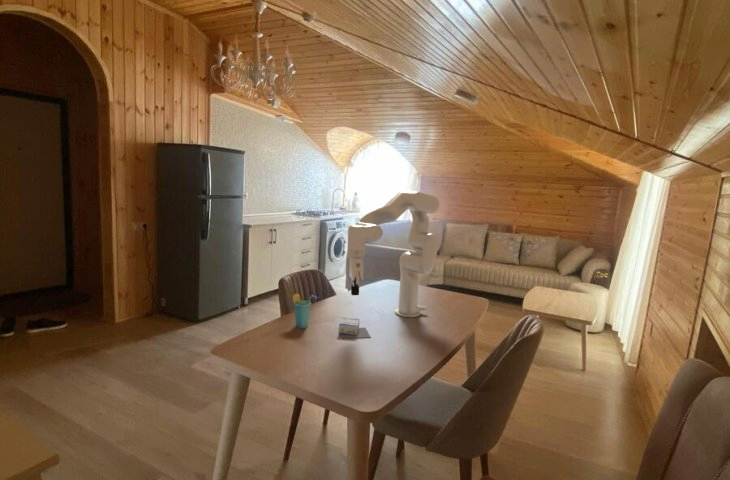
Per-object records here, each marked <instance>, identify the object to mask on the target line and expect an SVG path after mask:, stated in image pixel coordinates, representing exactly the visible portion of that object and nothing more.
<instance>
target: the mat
mask: <svg viewBox="0 0 730 480" xmlns="http://www.w3.org/2000/svg"><path fill="white" fill-rule="evenodd" d="M340 336H341V339H343V340H347V339H348V340H349V339H371V338H372V337H371V335H370V333H369V332H368V330H367V328H366V327H359V330H358V333H357V335H350V334H340Z"/></svg>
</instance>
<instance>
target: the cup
mask: <svg viewBox="0 0 730 480" xmlns="http://www.w3.org/2000/svg"><path fill="white" fill-rule="evenodd" d="M312 298H314V299H316V300H319V298H320V297H319V296H317V295H313V294H311V295H310V296H309V298H308V300H302V299H301V295H300V294H299V293H294V294H293V296H292V301H293V306H294V313H295V314H294V315H295V327H297V329H305V328H308V326H309V320H310V319H309V318H310V311H311V306H312V302H311V299H312Z"/></svg>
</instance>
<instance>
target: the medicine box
mask: <svg viewBox="0 0 730 480" xmlns="http://www.w3.org/2000/svg"><path fill="white" fill-rule="evenodd" d="M359 328H360V319H359V318H350V317H342V318H341V320H340V321H339V325H338V334H339V335H341V334H350V335H357V333H358V330H359Z"/></svg>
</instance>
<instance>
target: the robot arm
mask: <svg viewBox="0 0 730 480" xmlns="http://www.w3.org/2000/svg"><path fill="white" fill-rule="evenodd" d="M439 208H440V201H439V199H438V198H437V196H435V195H433V194H428V193H424V192H420V191H416V190H415V191H413V190H401V191H399V192H398V193H397V194H396V195H395V196H393V197H392V198H391V199H390V200H389V201H388V202H386V203H385V205H383V206H382V207H379V208H376V209H375V210H372V211H370V212H368V213H366V214H365V215H364V216H362V217H361V218H360V219H358V221H356V223H355V224H351V225H349V226H348V227H347V228H348V229H347V251H346V252H347V254H346V255H347V258H349V263H348V265H349V266H348V274H349V278H350V279H351V287H350V288H351V289H350V294H351V296H359V295H360V280H361V282H363V281H364V280H365V278H364V273H365V272H364V271H365V270H364V269H365V268H364V266H365V265H364V258H365V257H366V242H377V241H380V239H382V237H383V234H384V231H383V228H382V227H381V226H380V225H385V224H389V223H394V222H395V221H397V220H398V219H399V218H400V217H401V216H402V215H403V214H404V213H405V212H406V211H407V210H409V211H410V214H411V216H412V218H411V219H412V223H411V227H410V231H409V234H408V239H407V245H408V248H410V249H411V250H413V251H415V250H416V251H420V252H422V253H418V252H413V251H405V252H402V254H401V255H400V257H399V269H400V271H399V272H400V278H399V295H398V297H399V298H398V307H397V308H396V309H395V310H394V312H395V314H396V315H398V316H400V317H404V318H417V317H419V316H420V315H421V311H427V306H423V305H419V303H418V302H419V291H420V289H419V288H420V277H419V274H420V275H429V274H430V273H431V272H432V270H433V268H434V265H435V262H436V258H437V253H438V250H439V237H438V236H437V235H436V234H435V233H433V232H429V227H430V219H429V216H428V214H431V215H432V214H435V213H436V212H438V210H440V209H439Z"/></svg>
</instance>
